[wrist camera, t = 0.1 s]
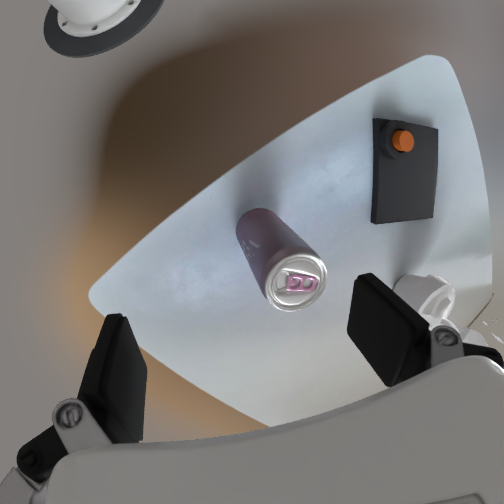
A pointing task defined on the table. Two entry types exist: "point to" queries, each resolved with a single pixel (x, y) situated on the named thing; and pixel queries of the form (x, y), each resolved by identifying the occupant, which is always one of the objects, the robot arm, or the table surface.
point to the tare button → (403, 140)
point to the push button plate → (403, 173)
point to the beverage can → (280, 261)
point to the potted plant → (434, 303)
